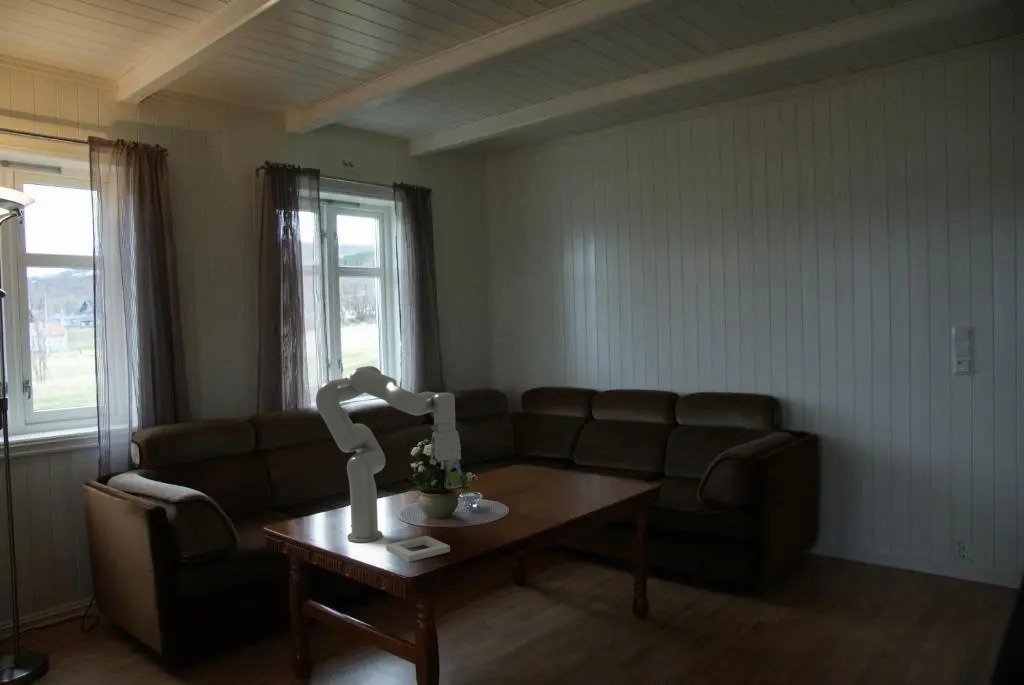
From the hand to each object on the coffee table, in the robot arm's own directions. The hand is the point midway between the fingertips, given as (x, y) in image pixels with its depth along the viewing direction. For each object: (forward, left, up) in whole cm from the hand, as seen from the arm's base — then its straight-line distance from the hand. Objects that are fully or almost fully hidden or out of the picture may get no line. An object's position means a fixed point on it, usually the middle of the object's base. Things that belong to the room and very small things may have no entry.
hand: (446, 478), depth 260 cm
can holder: (+1, -13, -23) cm, 26 cm away
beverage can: (+1, +3, -4) cm, 5 cm away
